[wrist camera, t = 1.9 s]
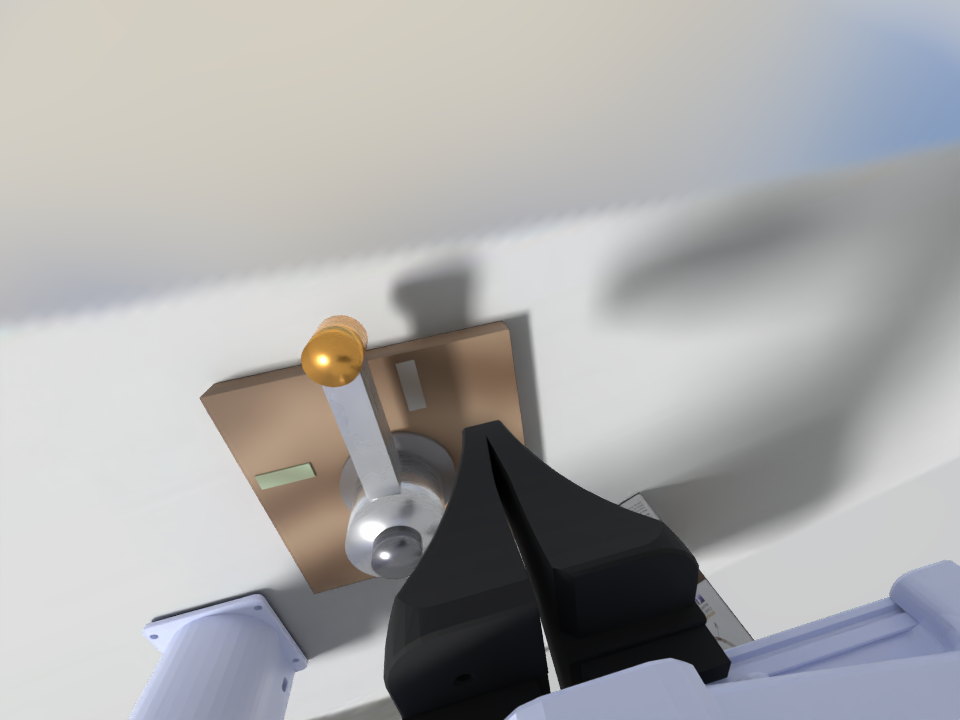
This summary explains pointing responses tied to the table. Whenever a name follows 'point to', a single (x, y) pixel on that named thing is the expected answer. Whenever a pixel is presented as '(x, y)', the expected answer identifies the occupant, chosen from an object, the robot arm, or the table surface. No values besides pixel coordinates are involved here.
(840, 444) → the table surface
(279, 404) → the coupling base
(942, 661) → the robot arm
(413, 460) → the gold-capped lever
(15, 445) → the table surface
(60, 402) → the table surface
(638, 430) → the table surface
